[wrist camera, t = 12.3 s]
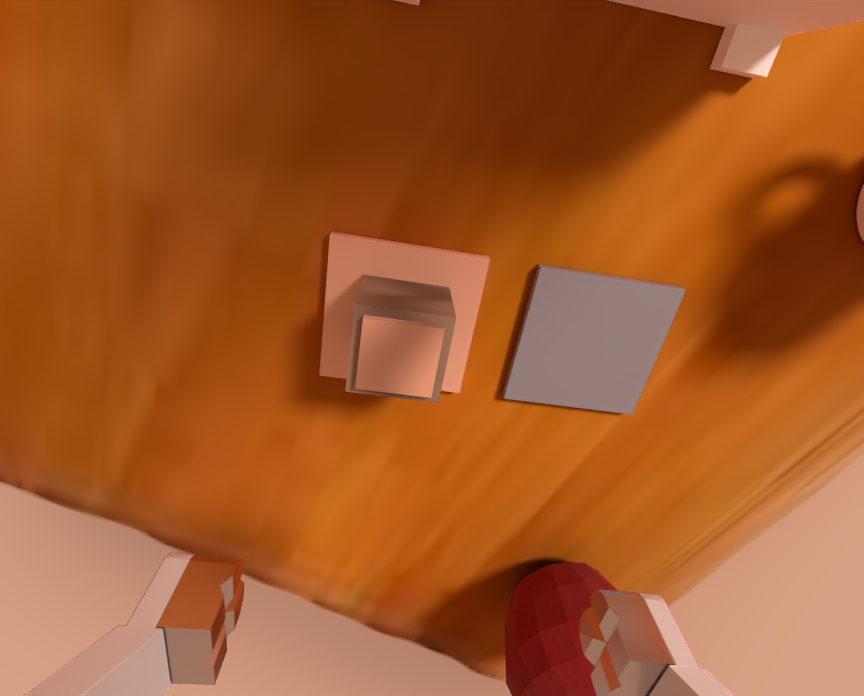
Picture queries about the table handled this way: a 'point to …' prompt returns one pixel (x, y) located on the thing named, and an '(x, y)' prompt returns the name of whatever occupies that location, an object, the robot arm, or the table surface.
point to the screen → (753, 25)
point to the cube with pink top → (400, 339)
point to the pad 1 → (407, 264)
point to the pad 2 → (589, 339)
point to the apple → (550, 631)
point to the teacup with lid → (860, 213)
